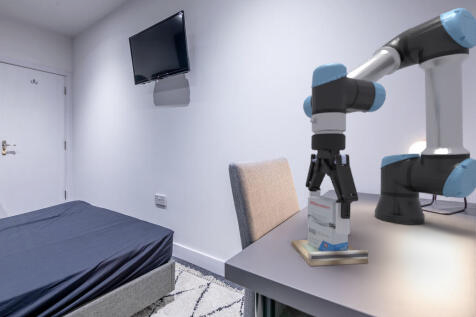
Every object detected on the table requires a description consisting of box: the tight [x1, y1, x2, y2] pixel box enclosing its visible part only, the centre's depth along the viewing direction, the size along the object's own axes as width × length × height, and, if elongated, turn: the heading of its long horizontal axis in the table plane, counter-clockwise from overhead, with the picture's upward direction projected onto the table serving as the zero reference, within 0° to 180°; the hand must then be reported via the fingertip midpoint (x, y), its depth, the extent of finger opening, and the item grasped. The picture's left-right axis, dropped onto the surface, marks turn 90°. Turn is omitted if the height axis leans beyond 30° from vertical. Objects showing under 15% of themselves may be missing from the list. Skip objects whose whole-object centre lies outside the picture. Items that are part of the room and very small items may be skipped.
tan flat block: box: [290, 239, 369, 267], centre depth 58 cm, size 13×12×2 cm
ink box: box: [306, 195, 349, 252], centre depth 58 cm, size 8×5×12 cm, turn 23°
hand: (326, 223), depth 58 cm, fingers open, 13 cm apart
